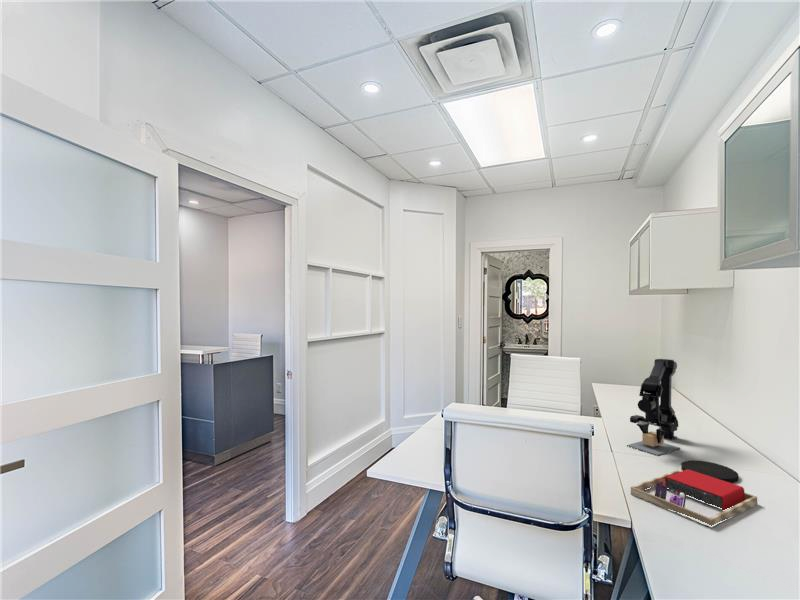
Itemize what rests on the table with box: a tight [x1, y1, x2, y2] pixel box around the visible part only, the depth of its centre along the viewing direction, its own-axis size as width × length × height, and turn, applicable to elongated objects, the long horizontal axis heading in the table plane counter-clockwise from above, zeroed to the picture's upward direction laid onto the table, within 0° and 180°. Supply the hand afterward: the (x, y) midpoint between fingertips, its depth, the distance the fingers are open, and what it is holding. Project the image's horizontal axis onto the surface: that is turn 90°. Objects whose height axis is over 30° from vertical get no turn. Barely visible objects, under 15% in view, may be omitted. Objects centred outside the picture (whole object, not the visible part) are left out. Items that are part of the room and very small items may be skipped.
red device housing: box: [664, 469, 745, 510], centre depth 137 cm, size 18×14×5 cm
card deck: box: [641, 431, 665, 447], centre depth 183 cm, size 5×8×4 cm, turn 116°
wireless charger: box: [680, 459, 739, 484], centre depth 154 cm, size 18×18×2 cm
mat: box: [626, 440, 681, 457], centre depth 183 cm, size 18×14×1 cm
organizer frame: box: [630, 469, 758, 526], centre depth 134 cm, size 30×25×2 cm
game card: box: [654, 483, 687, 508], centre depth 129 cm, size 7×5×9 cm
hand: (653, 441), depth 183 cm, fingers closed on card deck, 5 cm apart
